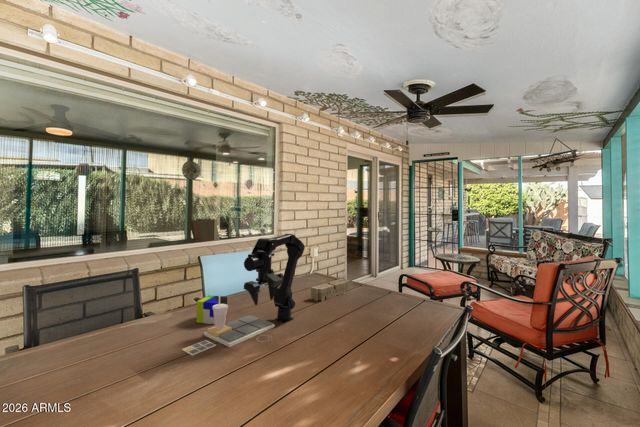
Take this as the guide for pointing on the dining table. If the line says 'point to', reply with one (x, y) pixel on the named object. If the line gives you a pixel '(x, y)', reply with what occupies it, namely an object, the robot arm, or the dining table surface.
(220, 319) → the smoothie
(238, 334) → the button board
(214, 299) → the puzzle toy
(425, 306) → the dining table surface
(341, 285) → the tan stone block
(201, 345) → the pattern card
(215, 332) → the amber button
